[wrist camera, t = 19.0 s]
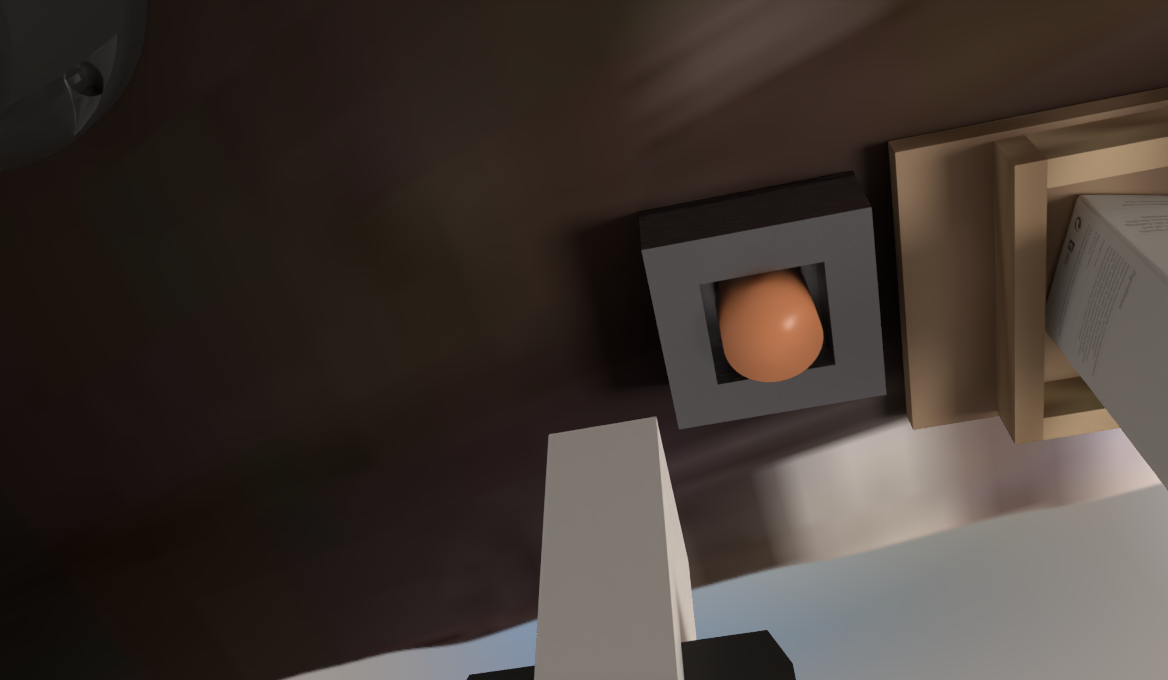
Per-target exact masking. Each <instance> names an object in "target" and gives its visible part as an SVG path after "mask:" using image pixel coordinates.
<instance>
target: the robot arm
mask: <svg viewBox="0 0 1168 680" xmlns="http://www.w3.org/2000/svg"><path fill="white" fill-rule="evenodd" d="M146 23H147V0H0V171H5V170H11V169H15V168H19V167H23V166H26V165H29V164H32V163H35V162H37V161H40V160H42V159H44V158H46V157H49V156H51V155H53V154H55V153H57V152H58V151H60V150H62V149H64V148H65V147H67V146H68V145H70V144H71V143H73V142H74V141H76V140H77V139H78V138H79V137H80V136H82V135H83V134H84V133H85V132H86V131H87V130H88V129H90V128H91V127H92V126H93V125H94V124H95V123H96V122H97V121H98V120H100V119H101V118H102V117H103V116H104V115H105V114H106V113H107V112H108V111H109V110H110V109H111V108H112V107H113V105H114V104H115V103H116V102H117V101H118V99H119V98H120V97H121V95H122V94H123V92H124V91H125V89H126V87H127V86H128V84H129V82H130V80H131V78H132V76H133V74H134V71H135V69H136V67H137V64H138V61H139V58H140V55H141V52H142V47H143V43H144V38H145V31H146ZM467 680H796V678H795V673H794V668H793V664H792V662H791V661H790V659H789V658H788V657H787V656H786V654H785V653H784V652H783V650H782V649H781V648H780V646H779V645H778V644H777V642H776V641H775V640H774V639H773V637H772V636H771V634H770V633H769V632H768V631H767V630H764V631H757V632H750V633H743V634H736V635H729V636H722V637H715V638H708V639H701V640H696V631H695V622H694V613H693V602H692V593H691V583H690V574H689V564H688V558H687V554H686V549H685V545H684V540H683V536H682V531H681V527H680V522H679V518H678V513H677V509H676V504H675V500H674V495H673V491H672V486H671V482H670V477H669V473H668V468H667V464H666V459H665V455H664V450H663V446H662V441H661V437H660V432H659V428H658V423H657V419H656V417H651V418H645V419H639V420H633V421H627V422H621V423H615V424H609V425H603V426H597V427H592V428H586V429H580V430H574V431H568V432H562V433H556V434H550V435H549V439H548V456H547V472H546V489H545V506H544V522H543V539H542V556H541V572H540V589H539V606H538V623H537V639H536V656H535V666H528V667H521V668H514V669H508V670H500V671H493V672H486V673H479V674H472V675H469V677H468V678H467Z"/></svg>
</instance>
